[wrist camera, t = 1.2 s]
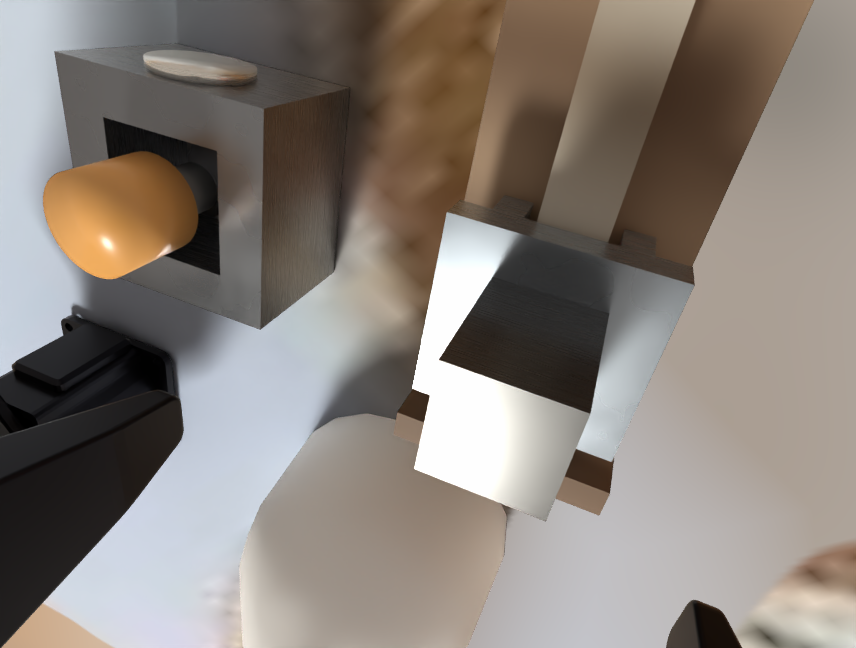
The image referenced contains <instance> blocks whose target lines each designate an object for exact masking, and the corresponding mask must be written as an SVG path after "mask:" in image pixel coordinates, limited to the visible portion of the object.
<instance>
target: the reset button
mask: <svg viewBox="0 0 856 648" xmlns="http://www.w3.org/2000/svg"><path fill="white" fill-rule="evenodd" d="M216 200H217V188H216V184H215V182H214V180H213V178H212V176H211V175H210V173H209V172H208V171H207V170H206V169H205V168H204V167H202V166H201V165H199V164H197V163H193V162H187V163H184V164H181V165H178V166H173V165H172V164H171V163H170V162H169V161H167V160H166V159H164V158H163V157H161V156H159V155H157V154H154V153H151V152H147V151H138V152H133V153H130V154H126V155H122V156H118V157H115V158H111V159H107V160H103V161H99V162H96V163H92V164H88V165H84V166H81V167H77V168H73V169H69V170H65V171H62V172H59V173H56V174H55V175H53V176H52V177H51V178H50V179H49V181H48V182H47V184H46V186H45V190H44V195H43V207H44V213H45V217H46V220H47V223H48V226H49V228H50V231H51V233H52V235H53V237H54V238H55V240H56V242H57V243H58V245H59V246H60V248H61V249H62V250H63V252H64V253H65V254H66V255H67V256H68V257H69V258H70V259H71V260H72V261H73V262H74V263H75V264H76V265H77V266H78V267H80V268H81V269H83V270H84V271H86V272H87V273H89V274H91V275H93V276H96V277H99V278H103V279H115V278H119V277H121V276H123V275H125V274H127V273H129V272H131V271H133V270H135V269H138V268H140V267H142V266H144V265H146V264H148V263H150V262H152V261H154V260H156V259H158V258H160V257H162V256H164V255H166V254H168V253H170V252H172V251H175V250H177V249H179V248H181V247H183V246H185V245H186V244H188V243H189V242H190V241H191V240H192V238H193V237H194V235H195V233H196V229H197V225H198V214H199V213H202V212H204V211H206V210H209V209H210V208H212V207H213V206H214V204H215V202H216Z"/></svg>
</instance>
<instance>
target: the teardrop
mask: <svg viewBox="0 0 856 648" xmlns="http://www.w3.org/2000/svg"><path fill="white" fill-rule="evenodd" d="M395 422H396V420H395V419H390V418H386V417H381V416H377V415H372V414H368V413H365V414H359V415H352V416H346V417H339V418H335V419H333V420H332V421H330V422H328V423H327V424H325V425H323V426H322V427H320V428H319V429H317V430H315V431H314V432H313V433H312V434H311V436H310V437H309V438H308V440H307V441H306V443H305V444H304V445H303V447H302V448H301V449H300V451H299V452H298V454H297V455H296V456H295V458H294V459H293V461H292V462H291V463H290V465H289V466H288V468H287V469H286V470H285V472H284V473H283V475H282V476H281V477H280V479H279V480H278V482H277V483H276V484H275V486H274V487H273V489H272V490H271V491H270V493H269V494H268V496H267V497H266V498H265V500H264V501H263V503H262V504H261V505H260V508H259V510H258V512H257V515H256V517H255V519H254V522H253V524H252V526H251V529H250V531H249V533H248V536H247V540H246V543H245V547H244V550H243V554H242V557H241V561H240V565H239V574H240V599H241V621H242V643H243V648H466V647H467V646H468V645H469V642H470V640H471V637H472V635H473V632H474V630H475V627H476V625H477V622H478V620H479V617H480V615H481V612H482V610H483V607H484V604H485V602H486V600H487V597H488V594H489V592H490V589H491V587H492V585H493V582H494V579H495V577H496V574H497V572H498V570H499V567H500V565H501V562H502V559H503V557H504V553H505V540H506V526H507V523H506V522H507V516H506V514H505V511H504V509H503V507H502V504H501V503H498V502H496V501H493V500H491V499H488V498H486V497H483V496H481V495H478V494H476V493H474V492H471V491H469V490H466V489H464V488H461V487H459V486H456V485H454V484H451V483H449V482H446V481H444V480H441V479H439V478H436V477H434V476H431V475H429V474H426V473H424V472H421V471H419V470H416V469H414V468H415V463H416V459H417V454H418V450H419V445H418V444H415V443H413V442H410V441H408V440H405V439H402V438H400V437H397V436H395V435H393V433H394V427H395Z"/></svg>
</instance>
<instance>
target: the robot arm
mask: <svg viewBox="0 0 856 648" xmlns="http://www.w3.org/2000/svg"><path fill="white" fill-rule="evenodd" d="M61 325H62V330H63V335H64V336H62V337H60V338H58V339H56V340H54V341H52V342H51V343H49V344H47V345H45V346H43V347H41V348H39V349H38V350H36V351H34V352H32V353H30V354H28V355H26V356H25V357H23V358H21V359H19V360H17V361H16V362H15V363H14V364H12V369H13V370H12V371H10V372H8V373H7V374H5V375H3V376H1V377H0V648H2V646H3V645H4V644H5V643H6V642H7V641H8V640H9V639H10V638H11V637H12V636H13V634H14V633H15V632H16V631H17V630H18V629H19V628H20V627H21V626H22V625H23V624H24V623H25V621H26V620H27V619H28V618H29V617H30V616H31V615H32V614H33V613H34V612H35V611H36V610H37V608H38V607H39V606H40V605H41V604H42V603H43V602H44V601H45V600H46V599H47V598H48V597H49V595H50V594H51V593H52V592H53V591H54V590H55V589H56V588H57V587H58V586H59V585H60V584H61V582H62V581H63V580H64V579H65V578H66V577H67V576H68V575H69V574H70V573H71V572H72V571H73V569H74V568H75V567H76V566H77V565H78V564H79V563H80V562H81V561H82V560H83V559H84V557H85V556H86V555H87V554H88V553H89V552H90V551H91V550H92V549H93V548H94V547H95V546H96V544H97V543H98V542H99V541H100V540H101V539H102V538H103V537H104V536H105V535H106V534H107V533H108V531H109V530H110V529H111V528H112V527H113V526H114V525H115V524H116V523H117V522H118V521H119V519H120V518H121V517H122V516H123V515H124V514H125V513H126V511H127V510H128V509H129V508H130V507H131V505H132V504H133V503H134V502H135V500H136V499H137V498H138V496H139V495H140V494H141V493H142V491H143V490H144V489H145V487H146V486H147V485H148V483H149V482H150V481H151V479H152V478H153V477H154V475H155V474H156V473H157V471H158V470H159V469H160V467H161V466H162V465H163V463H164V462H165V461H166V460H167V458H168V457H169V456H170V454H171V453H172V452H173V450H174V449H175V448H176V446H177V445H178V444H179V442H180V440H181V438H182V435H183V431H184V427H183V418H182V408H181V401H180V399H179V398H178V397H177V396H175V395H174V386H173V374H172V362H171V359H170V357H169V355H168V354H167V353H166V352H164V351H162V350H159V349H157V348H154V347H152V346H149V345H147V344H144V343H142V342H139V341H137V340H134V339H132V338H129V337H126V336H124V335H121V334H119V333H116V332H114V331H111V330H109V329H106V328H104V327H101V326H99V325H96V324H94V323H91V322H88V321H86V320H83V319H81V318H78V317H76V316H72V315H71V316H68V317H66V318H64V319H62V321H61ZM666 648H742V647H741V645H740V643H739V641H738V639H737V637H736V635H735V633H734V632H733V630H732V628H731V626H730V624H729V622H728V620H727V618H726V617H725V615H724V614H723V612H722V611H720V610H719V609H717V608H715V607H713V606H710V605H708V604H705V603H703V602H700V601H697V600H692V601H690V602H689V603H688V604H687V606H686V607H685V609H684V610H683V612H682V614H681V615H680V617H679V618H678V620H677V621H676V623H675V624H674V626H673V627H672V629H671V631H670V634H669V637H668V641H667V646H666Z"/></svg>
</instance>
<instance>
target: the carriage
mask: <svg viewBox="0 0 856 648" xmlns="http://www.w3.org/2000/svg"><path fill="white" fill-rule="evenodd" d="M533 204H534V203H532V202H529V201H525V200H522V199H518V198H514V197H511V196H507V195H504V196H503V198H502V199H501V200H500V201H499V202H498V203H497V204H496V206H495V207H494V208H493V209H491V208H487V207H484V206H480V205H477V204H473V203H470V202H466V201H463V200H460V201H459V202H457V203H456V204H455V205H454V206H453V207H452V208H451V209H450V210H449V211H448V212H447V215H446V220H445V225H444V230H443V235H442V240H441V245H440V250H439V256H438V261H437V266H436V271H435V276H434V281H433V286H432V291H431V297H430V302H429V307H428V312H427V317H426V322H425V327H424V332H423V338H422V343H421V348H420V353H419V358H418V363H417V368H416V373H415V378H414V384H413V389H416V390H418V391H421V392H424V393H426V394H429V395H430V399H429V404H428V408H427V413H426V417H425V422H424V427H423V431H422V436H421V440H420V445H419V450H418V454H417V459H416V463H415V468H414V469H416V470H419V471H421V472H424V473H426V474H429V475H431V476H434V477H436V478H439V479H441V480H444V481H446V482H449V483H451V484H454V485H456V486H459V487H461V488H464V489H466V490H469V491H471V492H474V493H476V494H478V495H481V496H483V497H486V498H488V499H491V500H493V501H496V502H498V503H501V504H503V505H506V506H508V507H511V508H513V509H516V510H518V511H521V512H523V513H526V514H528V515H531V516H533V517H536V518H539V519H541V520H543V521H546V519H547V517H548V515H549V512H550V510H551V508H552V505H553V503H554V500H555V498H556V496H557V493H558V491H559V488H560V486H561V484H562V481H563V479H564V476H565V474H566V472H567V469H568V467H569V464H570V462H571V460H572V457H573V455H574V452H575V450H576V449H578V450H581V451H583V452H586V453H589V454H591V455H594V456H597V457H599V458H602V459H605V460H608V461H610V462H612V460H613V458H614V456H615V454H616V451H617V449H618V447H619V445H620V443H621V441H622V438H623V436H624V434H625V432H626V430H627V428H628V426H629V424H630V422H631V420H632V417H633V415H634V413H635V411H636V409H637V407H638V405H639V402H640V400H641V398H642V396H643V394H644V392H645V390H646V388H647V386H648V383H649V381H650V379H651V377H652V375H653V373H654V370H655V368H656V366H657V364H658V362H659V360H660V358H661V356H662V354H663V351H664V349H665V347H666V345H667V343H668V341H669V339H670V337H671V334H672V332H673V330H674V328H675V326H676V324H677V321H678V319H679V317H680V315H681V313H682V311H683V309H684V307H685V305H686V302H687V300H688V298H689V296H690V294H691V292H692V290H693V288H694V275H693V267H691V266H688V265H684V264H681V263H678V262H674V261H671V260H667V259H664V258H660V257H657V256H656V237H653V236H649V235H646V234H642V233H639V232H635V231H631V230H628V229H624V232H623V235H622V237H621V240H620V243H619V245H615V244H612V243H608V242H605V241H601V240H598V239H594V238H591V237H588V236H584V235H581V234H577V233H574V232H570V231H567V230H563V229H560V228H556V227H553V226H549V225H546V224H542V223H539V222H536V221H532V220H529V219H530V215H531V212H532V208H533Z"/></svg>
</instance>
